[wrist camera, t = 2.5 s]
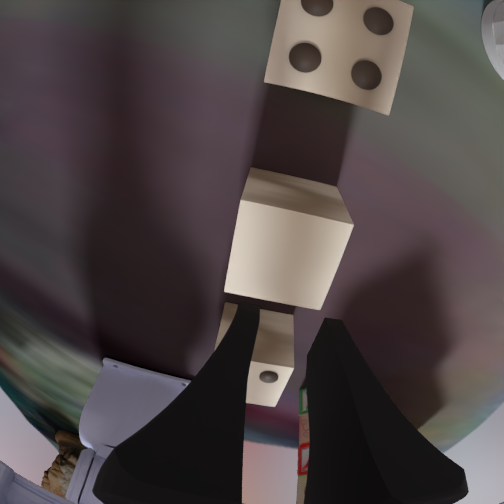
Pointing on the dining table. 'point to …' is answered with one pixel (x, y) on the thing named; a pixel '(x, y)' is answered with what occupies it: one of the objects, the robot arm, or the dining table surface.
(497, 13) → the cup
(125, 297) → the dining table surface
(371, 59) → the dotted block
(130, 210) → the dining table surface
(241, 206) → the plain block
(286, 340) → the dotted block
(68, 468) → the brown lumpy figurine
